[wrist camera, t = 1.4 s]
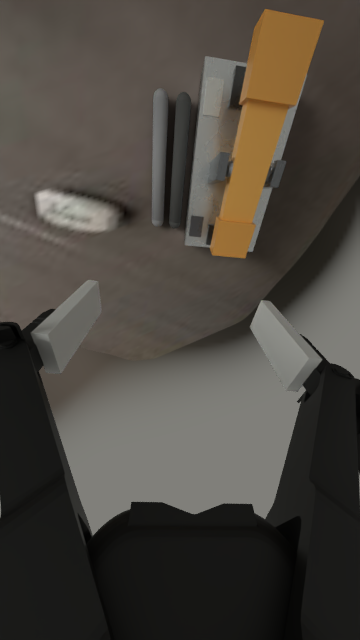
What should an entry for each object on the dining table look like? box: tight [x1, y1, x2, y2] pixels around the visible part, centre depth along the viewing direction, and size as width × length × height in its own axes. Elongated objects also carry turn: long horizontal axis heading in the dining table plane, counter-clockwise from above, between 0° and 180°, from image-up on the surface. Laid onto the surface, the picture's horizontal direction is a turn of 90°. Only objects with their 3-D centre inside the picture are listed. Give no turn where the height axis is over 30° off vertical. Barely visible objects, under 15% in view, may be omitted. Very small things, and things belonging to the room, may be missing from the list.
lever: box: [210, 9, 324, 258], centre depth 21 cm, size 19×5×3 cm, turn 174°
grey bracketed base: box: [184, 56, 307, 252], centre depth 25 cm, size 20×12×11 cm, turn 174°
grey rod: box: [152, 88, 169, 227], centre depth 28 cm, size 16×2×2 cm, turn 174°
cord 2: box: [169, 92, 191, 228], centre depth 28 cm, size 16×2×2 cm, turn 174°
